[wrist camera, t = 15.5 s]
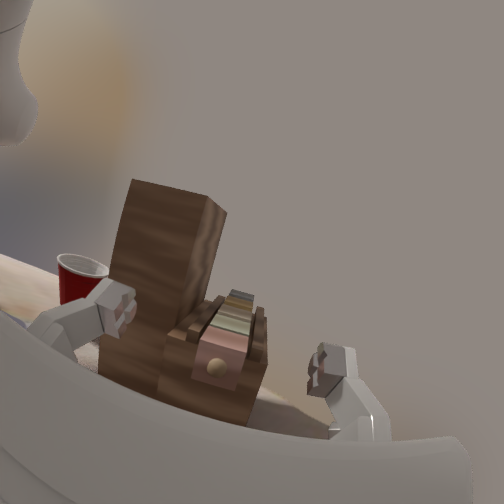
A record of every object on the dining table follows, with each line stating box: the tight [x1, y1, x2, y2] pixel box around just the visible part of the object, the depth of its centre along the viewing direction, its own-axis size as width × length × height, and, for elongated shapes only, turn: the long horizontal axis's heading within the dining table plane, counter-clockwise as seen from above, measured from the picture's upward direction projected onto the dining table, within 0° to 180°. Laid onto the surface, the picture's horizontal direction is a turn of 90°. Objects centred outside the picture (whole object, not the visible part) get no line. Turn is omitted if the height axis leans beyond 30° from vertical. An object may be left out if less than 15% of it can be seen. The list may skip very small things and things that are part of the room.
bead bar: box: [191, 289, 254, 391], centre depth 26 cm, size 20×3×3 cm, turn 178°
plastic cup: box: [57, 254, 109, 305], centre depth 42 cm, size 11×11×12 cm
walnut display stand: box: [98, 179, 268, 427], centre depth 30 cm, size 16×17×26 cm
